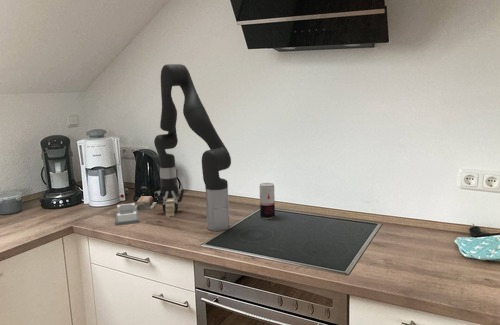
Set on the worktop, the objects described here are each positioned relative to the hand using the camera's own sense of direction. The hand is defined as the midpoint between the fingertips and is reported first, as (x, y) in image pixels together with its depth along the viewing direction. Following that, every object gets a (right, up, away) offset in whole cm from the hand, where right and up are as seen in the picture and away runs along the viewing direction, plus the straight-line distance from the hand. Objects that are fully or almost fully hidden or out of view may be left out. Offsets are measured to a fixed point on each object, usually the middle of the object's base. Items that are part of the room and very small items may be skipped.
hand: (170, 211), depth 191 cm
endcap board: (-19, -2, -6) cm, 20 cm away
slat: (0, -1, 0) cm, 1 cm away
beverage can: (+46, -1, -11) cm, 47 cm away
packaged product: (-15, +1, +14) cm, 21 cm away
